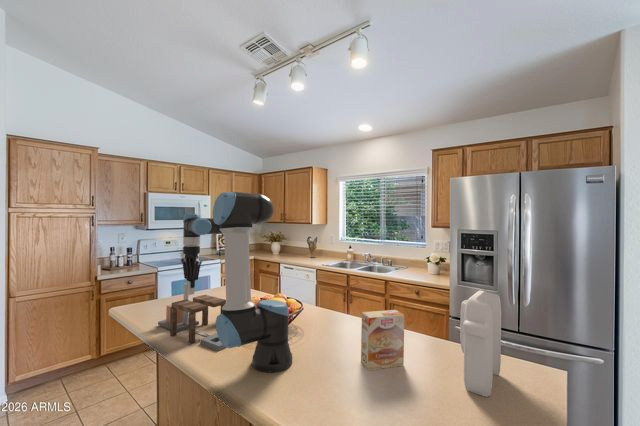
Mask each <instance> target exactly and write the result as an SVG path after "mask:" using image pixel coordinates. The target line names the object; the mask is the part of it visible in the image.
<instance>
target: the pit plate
mask: <svg viewBox="0 0 640 426" xmlns="http://www.w3.org/2000/svg"><path fill="white" fill-rule="evenodd" d="M209 335H210V336H208V337H205V336H204V337H202V338H200V345H203V346H204V347H208V348H211V349H212V350H216V351H218V352H220V351H221V350H224V349H227V348H226V347H225V346H223V344H222V343H221V341H220V339H219V337H218V334H217V332H216V333H214V334H209Z"/></svg>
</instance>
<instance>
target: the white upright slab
mask: <svg viewBox="0 0 640 426" xmlns="http://www.w3.org/2000/svg"><path fill="white" fill-rule="evenodd" d="M459 316H460V322H459V323H460V324H459V325H460V329H459V330H460V331H459V333H460V334H459V335H460V337H459V338H460V339H459V340H460V347H461V351H462V354H463V383H464V388H465V390H466V391H468V392H471V393H473V394H476V395H478V394H479V396H481V395H482V397H484V396H485V397H484V398H488V396H489V397H490V396H491V393H492V389H493V375H495V376H497V377H498V376H499V375H500V372H501V363H502V362H501V361H502V358H501V357H502V355H501V354H502V353H501V352H502V351H501V350H502V316H503V315H502V303H501V297H500V295H499V294H495V293H491V292H488V291H486V290H480V289H479V290H478V291H477V292H475V293H474V294H472V295H471V296H470V297H469V298H468V299H465V300H464V299H463V301H462V302H461V306H460V315H459Z"/></svg>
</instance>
